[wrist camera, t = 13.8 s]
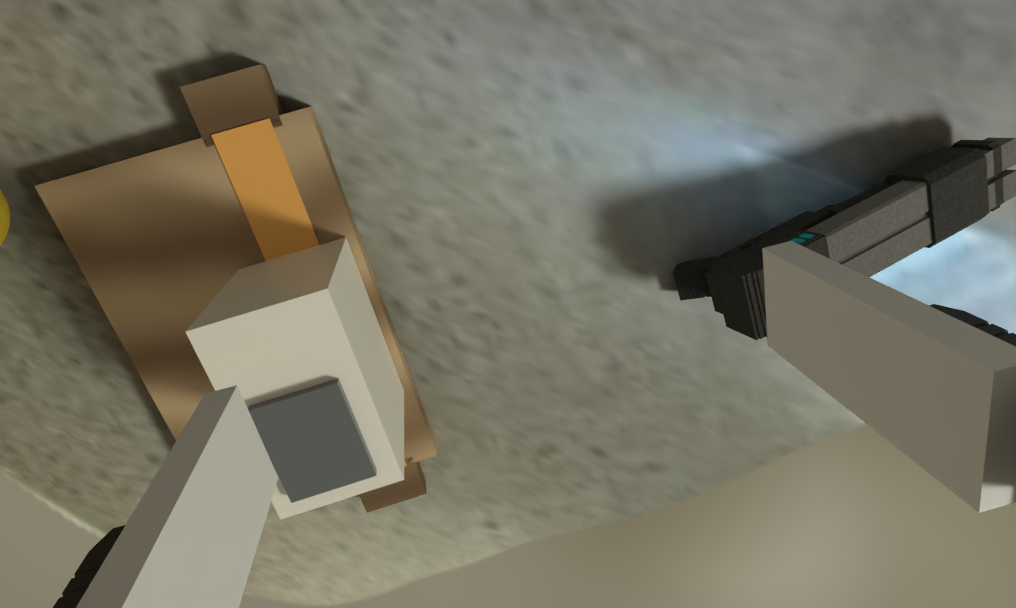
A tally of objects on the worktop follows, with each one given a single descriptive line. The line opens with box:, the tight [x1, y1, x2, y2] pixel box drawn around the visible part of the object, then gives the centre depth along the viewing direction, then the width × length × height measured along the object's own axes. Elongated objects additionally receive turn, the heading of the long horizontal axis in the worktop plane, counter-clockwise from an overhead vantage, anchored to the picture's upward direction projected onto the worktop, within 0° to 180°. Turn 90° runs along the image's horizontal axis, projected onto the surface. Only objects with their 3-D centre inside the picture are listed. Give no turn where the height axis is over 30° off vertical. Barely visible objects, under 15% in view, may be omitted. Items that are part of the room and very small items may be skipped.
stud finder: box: [185, 237, 404, 519], centre depth 31 cm, size 10×6×10 cm, turn 15°
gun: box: [673, 138, 1016, 340], centre depth 39 cm, size 4×20×10 cm, turn 110°
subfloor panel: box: [35, 65, 437, 512], centre depth 36 cm, size 27×14×2 cm, turn 15°
